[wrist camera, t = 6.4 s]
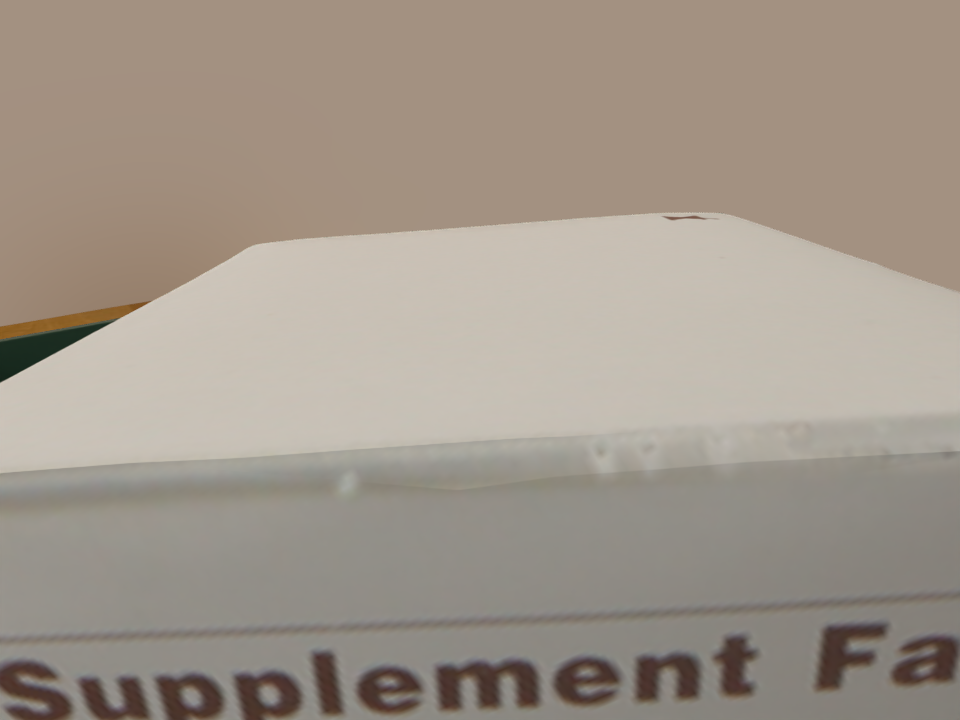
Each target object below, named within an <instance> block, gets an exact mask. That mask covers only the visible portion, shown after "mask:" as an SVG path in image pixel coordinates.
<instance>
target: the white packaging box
mask: <svg viewBox="0 0 960 720" xmlns="http://www.w3.org/2000/svg"><path fill="white" fill-rule="evenodd" d="M0 720H960V292H957V291H954V290H951V289H948V288H945V287H942V286H939V285H936V284H932V283H929V282H926V281H923V280H920V279H917V278H914V277H911V276H908V275H905V274H902V273H899V272H897V271H894V270H891V269H888V268H886V267H883V266H881V265H879V264H876V263H872V262H869V261H866V260H863V259H860V258H857V257H854V256H850V255H848V254H845V253H842V252H839V251H836V250H833V249H830V248H827V247H824V246H822V245H818V244H816V243H813V242H810V241H807V240H804V239H801V238H798V237H795V236H793V235H790V234H786V233H784V232H781V231H778V230H775V229H772V228H769V227H766V226H763V225H760V224H757V223H754V222H751V221H748V220H745V219H742V218H739V217H736V216H732V215H728V214H723V213H652V214H638V215H622V216H609V217H593V218H579V219H566V220H554V221H541V222H528V223H516V224H504V225H490V226H477V227H464V228H452V229H438V230H425V231H411V232H397V233H384V234H368V235H353V236H337V237H324V238H310V239H298V240H290V241H281V242H273V243H265V244H257V245H254V246H251V247H249V248H247V249H245V250H244V251H242V252H240V253H239V254H237V255H235V256H234V257H232V258H231V259H229V260H227V261H226V262H224V263H222V264H220V265H218V266H217V267H215V268H213V269H211V270H210V271H208V272H206V273H204V274H202V275H201V276H199V277H197V278H195V279H193V280H192V281H190V282H188V283H186V284H184V285H182V286H180V287H178V288H177V289H175V290H173V291H171V292H169V293H167V294H165V295H163V296H162V297H160V298H158V299H156V300H154V301H152V302H150V303H148V304H147V305H145V306H143V307H141V308H139V309H137V310H135V311H133V312H132V313H130V314H128V315H126V316H124V317H122V318H120V319H118V320H117V321H115V322H113V323H111V324H109V325H107V326H105V327H103V328H101V329H100V330H98V331H96V332H94V333H92V334H90V335H88V336H87V337H85V338H83V339H81V340H79V341H77V342H75V343H74V344H72V345H70V346H68V347H66V348H64V349H62V350H61V351H59V352H57V353H55V354H53V355H51V356H49V357H48V358H46V359H44V360H42V361H40V362H38V363H36V364H34V365H33V366H31V367H29V368H27V369H25V370H23V371H21V372H20V373H18V374H16V375H14V376H12V377H10V378H8V379H7V380H5V381H3V382H1V383H0Z"/></svg>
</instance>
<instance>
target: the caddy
mask: <svg viewBox="0 0 960 720" xmlns="http://www.w3.org/2000/svg"><path fill="white" fill-rule="evenodd" d="M118 319H120V318H118ZM118 319H112V320H107V321H101V322H96V323H90V324H84V325H79V326H73V327H68V328H62V329H56V330H51V331H45V332H40V333H34V334H28V335H23V336H17V337H12V338H6V339H0V383H1V382H3V381H5V380H7V379H8V378H10V377H12V376H14V375H16V374H18V373H20V372H21V371H23V370H25V369H27V368H29V367H31V366H33V365H34V364H36V363H38V362H40V361H42V360H44V359H46V358H48V357H49V356H51V355H53V354H55V353H57V352H59V351H61V350H62V349H64V348H66V347H68V346H70V345H72V344H74V343H75V342H77V341H79V340H81V339H83V338H85V337H87V336H88V335H90V334H92V333H94V332H96V331H98V330H100V329H101V328H103V327H105V326H107V325H109V324H111V323H113V322H115V321H117V320H118Z"/></svg>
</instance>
